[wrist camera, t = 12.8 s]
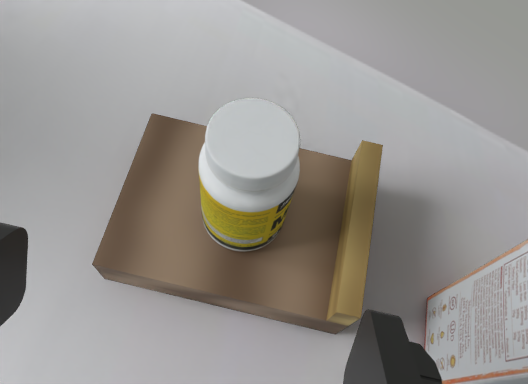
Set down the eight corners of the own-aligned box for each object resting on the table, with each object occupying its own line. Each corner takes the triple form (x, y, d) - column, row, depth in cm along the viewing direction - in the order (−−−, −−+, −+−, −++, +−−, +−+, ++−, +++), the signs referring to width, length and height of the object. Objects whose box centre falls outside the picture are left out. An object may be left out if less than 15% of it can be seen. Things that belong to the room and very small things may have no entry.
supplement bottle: (279, 259, 26) (304, 197, 18) (194, 246, 26) (184, 179, 18) (288, 182, 28) (313, 98, 20) (209, 170, 28) (206, 81, 20)
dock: (104, 278, 28) (80, 250, 23) (157, 138, 32) (146, 89, 27) (335, 334, 27) (360, 318, 23) (357, 185, 32) (382, 145, 27)
